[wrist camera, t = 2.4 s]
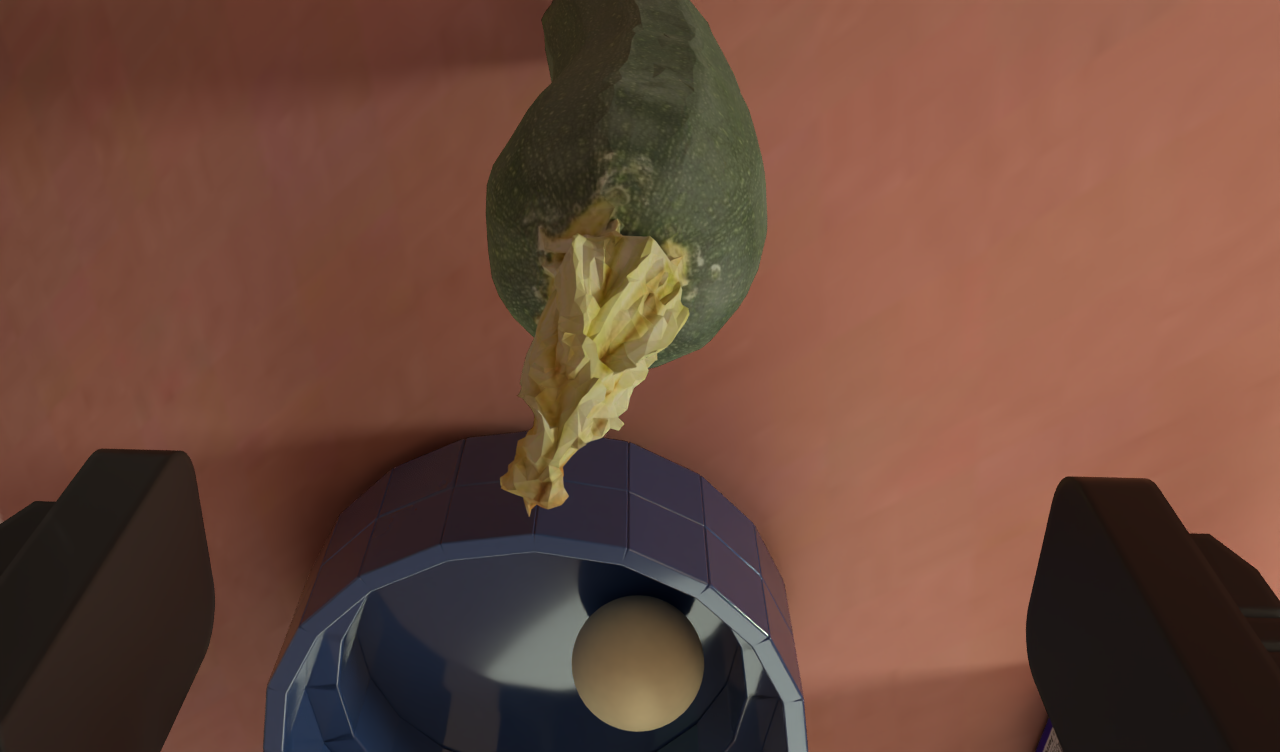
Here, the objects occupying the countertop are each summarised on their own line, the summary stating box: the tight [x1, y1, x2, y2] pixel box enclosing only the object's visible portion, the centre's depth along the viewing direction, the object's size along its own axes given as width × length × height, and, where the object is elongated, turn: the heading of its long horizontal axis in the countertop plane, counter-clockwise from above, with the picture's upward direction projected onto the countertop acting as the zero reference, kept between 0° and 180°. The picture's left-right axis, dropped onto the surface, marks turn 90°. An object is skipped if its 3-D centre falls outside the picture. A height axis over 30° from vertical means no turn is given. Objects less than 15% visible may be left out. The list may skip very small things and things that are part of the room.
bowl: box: [263, 431, 808, 752], centre depth 37 cm, size 15×15×6 cm
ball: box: [572, 595, 704, 732], centre depth 37 cm, size 4×4×4 cm
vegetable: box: [486, 0, 767, 517], centre depth 22 cm, size 4×4×20 cm
